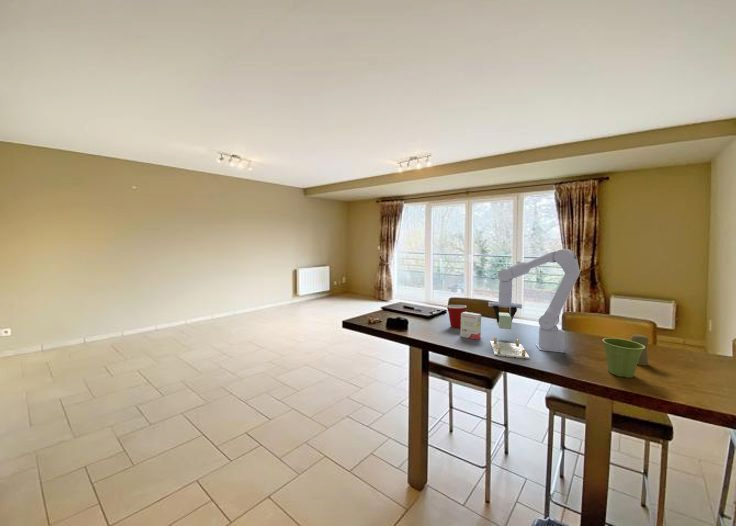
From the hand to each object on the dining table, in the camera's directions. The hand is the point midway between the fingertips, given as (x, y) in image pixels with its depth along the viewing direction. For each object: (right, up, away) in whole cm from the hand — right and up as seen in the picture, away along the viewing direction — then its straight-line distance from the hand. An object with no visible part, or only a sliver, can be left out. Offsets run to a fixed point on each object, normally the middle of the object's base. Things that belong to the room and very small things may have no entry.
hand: (504, 322), depth 150 cm
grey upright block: (+41, -11, -27) cm, 50 cm away
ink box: (-15, -8, +4) cm, 17 cm away
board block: (0, -2, 0) cm, 2 cm away
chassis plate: (-5, -9, -15) cm, 18 cm away
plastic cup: (-17, -7, +22) cm, 28 cm away
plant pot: (+25, -11, -38) cm, 47 cm away
